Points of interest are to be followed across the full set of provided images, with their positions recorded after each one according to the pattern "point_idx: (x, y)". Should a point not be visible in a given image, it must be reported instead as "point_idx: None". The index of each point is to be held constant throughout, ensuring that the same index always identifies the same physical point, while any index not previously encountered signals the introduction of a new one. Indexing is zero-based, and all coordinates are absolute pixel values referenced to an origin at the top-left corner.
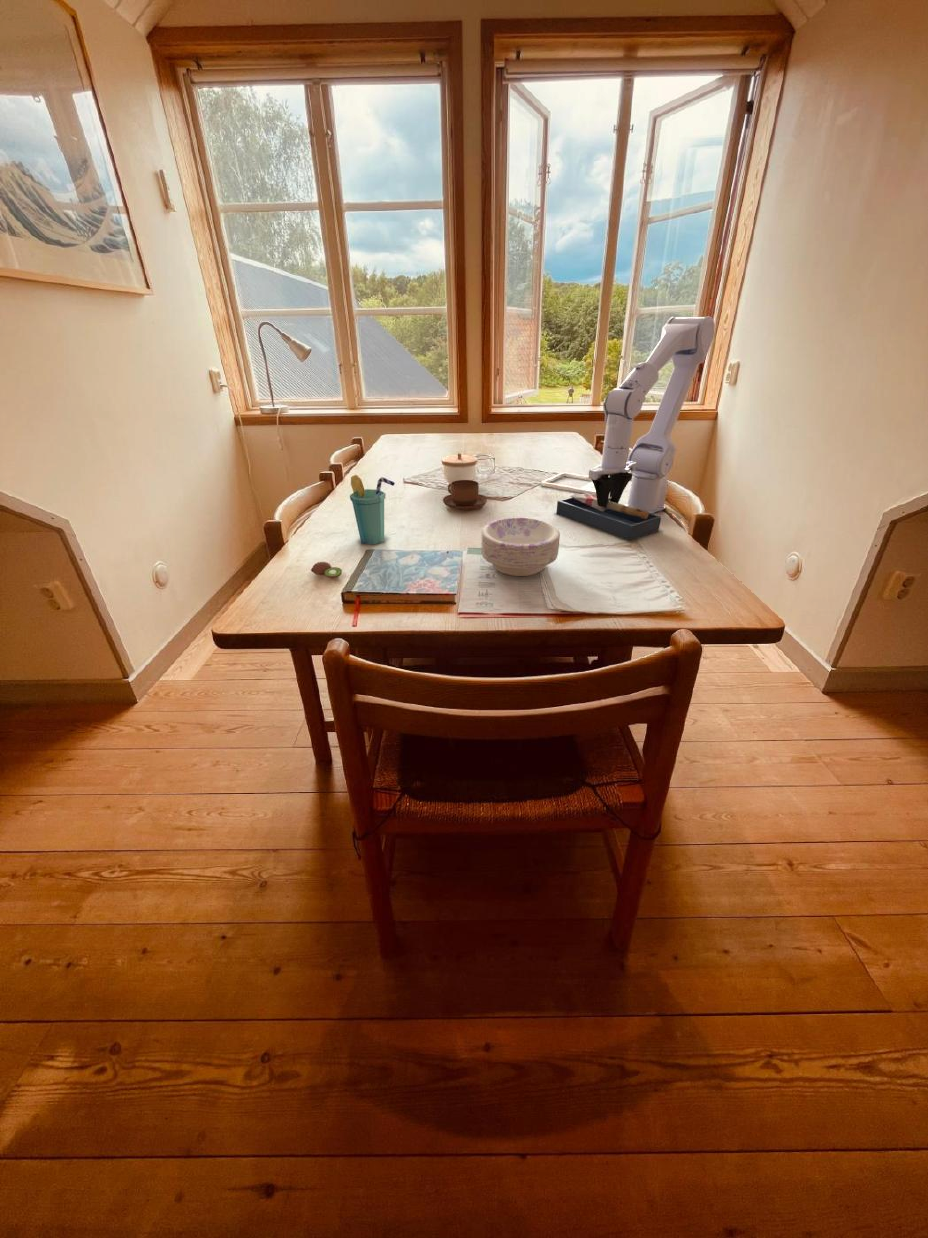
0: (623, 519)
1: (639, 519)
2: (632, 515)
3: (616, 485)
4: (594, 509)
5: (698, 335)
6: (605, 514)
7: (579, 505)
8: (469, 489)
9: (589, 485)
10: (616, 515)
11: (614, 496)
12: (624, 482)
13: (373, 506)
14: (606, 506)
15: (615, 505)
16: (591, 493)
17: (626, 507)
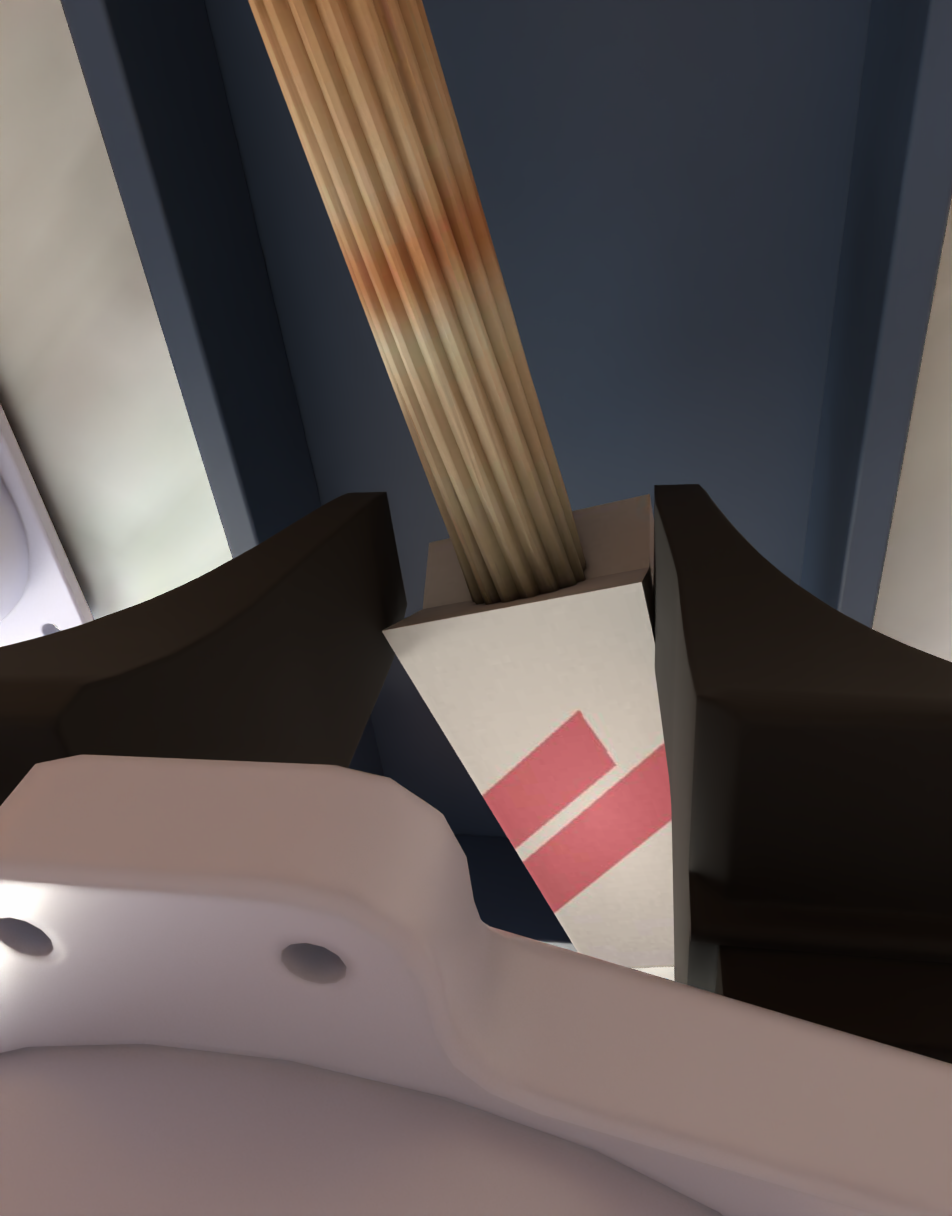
0: (325, 327)
1: (198, 82)
2: (225, 242)
3: (290, 735)
4: (398, 721)
5: None
6: (404, 568)
7: (474, 844)
8: None
9: None
10: (313, 475)
11: (364, 603)
12: (188, 646)
13: None
14: (571, 522)
15: (513, 405)
16: None
17: (430, 189)
